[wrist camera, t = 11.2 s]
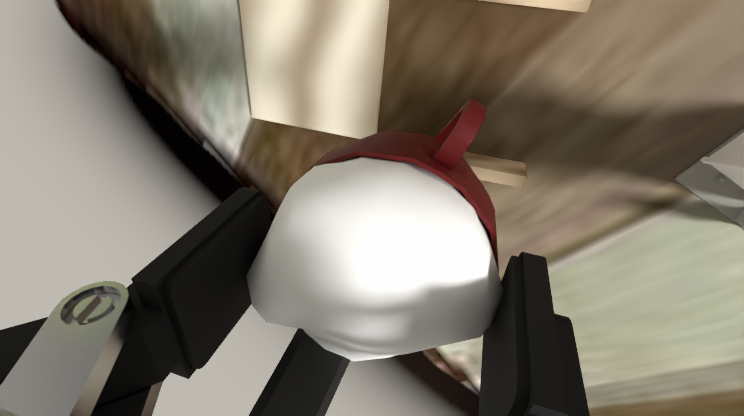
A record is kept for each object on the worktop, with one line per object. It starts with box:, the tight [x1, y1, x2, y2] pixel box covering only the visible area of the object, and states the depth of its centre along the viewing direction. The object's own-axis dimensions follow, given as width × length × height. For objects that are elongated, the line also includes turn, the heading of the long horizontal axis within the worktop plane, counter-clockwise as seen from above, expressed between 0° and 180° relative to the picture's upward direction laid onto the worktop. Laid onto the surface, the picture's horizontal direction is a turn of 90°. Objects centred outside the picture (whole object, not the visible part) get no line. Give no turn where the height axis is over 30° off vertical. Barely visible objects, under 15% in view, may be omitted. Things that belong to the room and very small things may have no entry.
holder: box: [463, 0, 591, 188], centre depth 26 cm, size 11×13×2 cm
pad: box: [239, 0, 389, 139], centre depth 30 cm, size 12×12×1 cm
